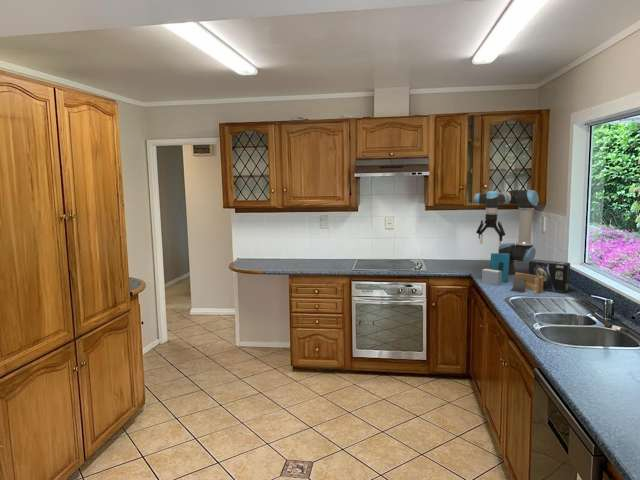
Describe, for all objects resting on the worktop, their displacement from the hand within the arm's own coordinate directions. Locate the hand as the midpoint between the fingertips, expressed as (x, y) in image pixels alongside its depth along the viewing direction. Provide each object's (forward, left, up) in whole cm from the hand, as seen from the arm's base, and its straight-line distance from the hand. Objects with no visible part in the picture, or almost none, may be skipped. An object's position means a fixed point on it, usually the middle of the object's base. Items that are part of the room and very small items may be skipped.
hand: (489, 244), depth 317 cm
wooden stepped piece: (-3, +25, -28) cm, 37 cm away
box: (-16, +34, -28) cm, 47 cm away
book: (-3, +1, -28) cm, 28 cm away
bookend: (+3, +23, -28) cm, 36 cm away
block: (-15, 0, -28) cm, 32 cm away
